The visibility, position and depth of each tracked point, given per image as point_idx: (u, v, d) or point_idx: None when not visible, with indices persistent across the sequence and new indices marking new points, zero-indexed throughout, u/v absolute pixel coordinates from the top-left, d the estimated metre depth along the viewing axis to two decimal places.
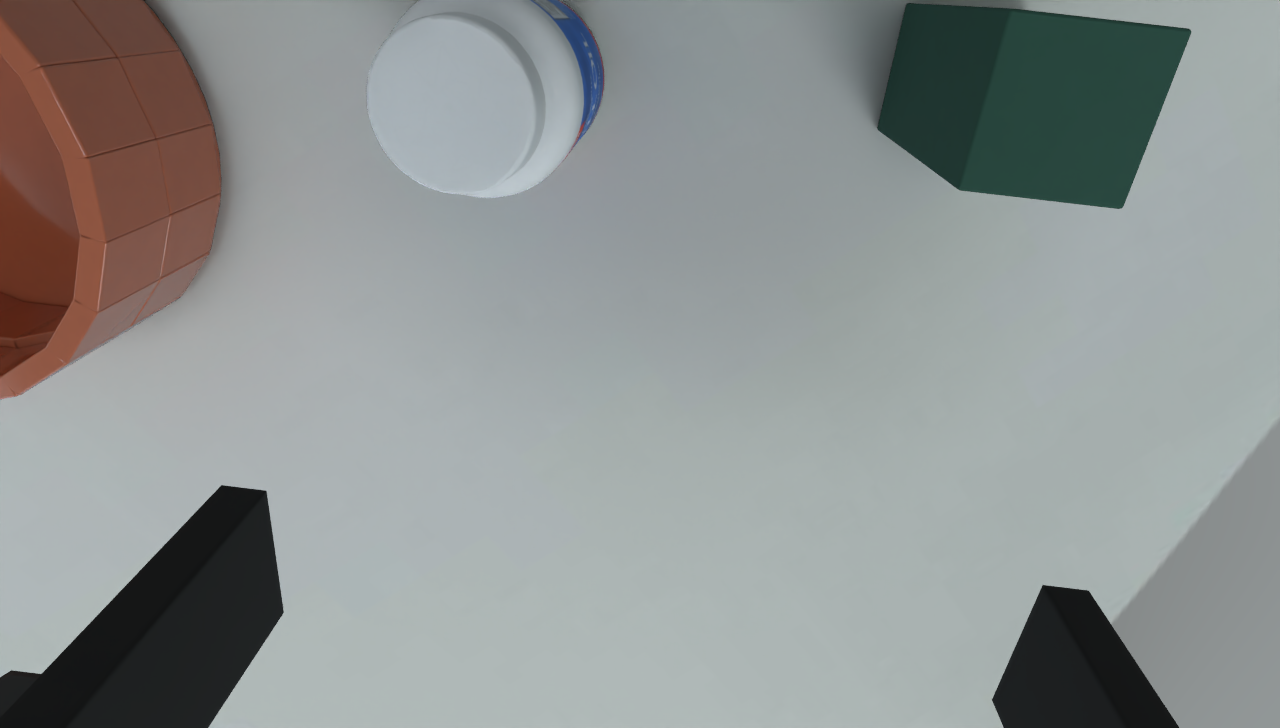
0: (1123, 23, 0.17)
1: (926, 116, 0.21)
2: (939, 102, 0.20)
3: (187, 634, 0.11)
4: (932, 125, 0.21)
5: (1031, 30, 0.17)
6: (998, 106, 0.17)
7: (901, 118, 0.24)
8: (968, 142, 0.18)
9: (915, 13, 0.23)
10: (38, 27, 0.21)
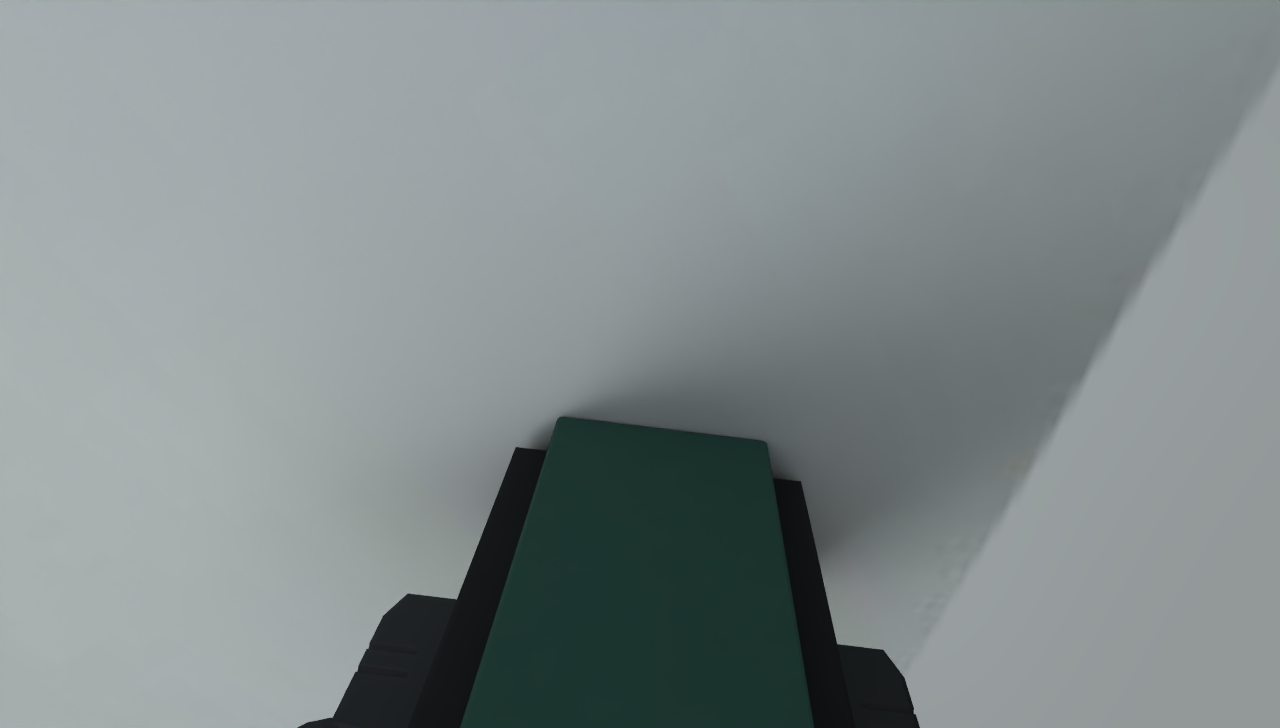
0: None
1: (585, 626, 0.10)
2: (615, 678, 0.09)
3: None
4: (567, 668, 0.09)
5: None
6: None
7: (578, 505, 0.12)
8: None
9: (757, 484, 0.13)
10: None
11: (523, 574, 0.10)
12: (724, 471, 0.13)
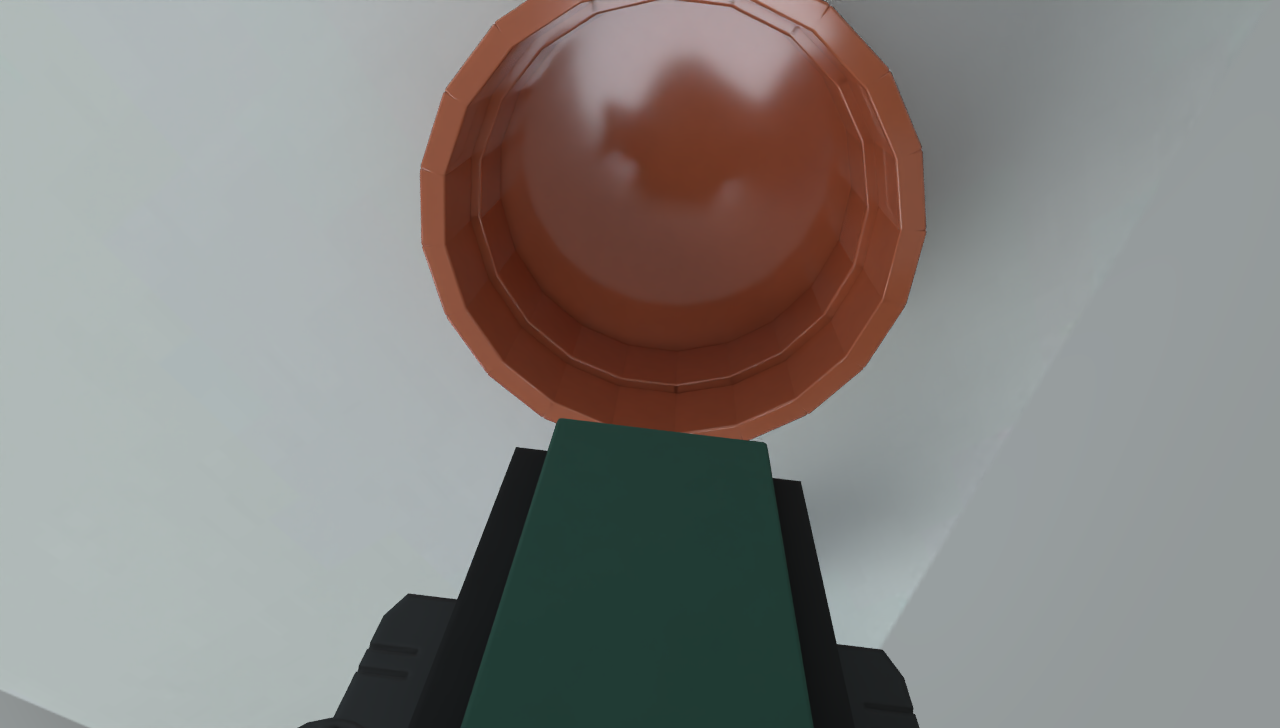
0: None
1: (585, 628, 0.10)
2: (615, 679, 0.09)
3: None
4: (567, 670, 0.09)
5: None
6: None
7: (579, 507, 0.12)
8: None
9: (757, 485, 0.13)
10: None
11: (523, 575, 0.10)
12: (724, 472, 0.13)
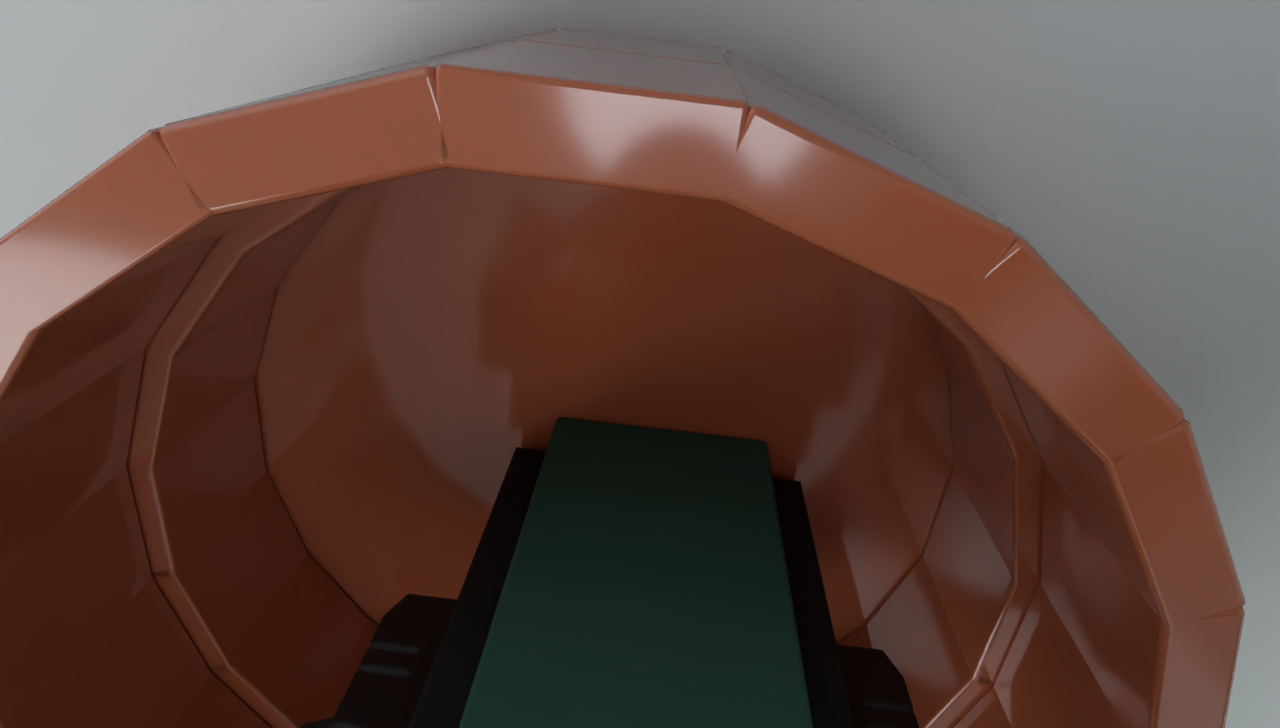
0: None
1: (583, 626, 0.10)
2: (614, 678, 0.09)
3: None
4: (565, 670, 0.09)
5: None
6: None
7: (577, 506, 0.12)
8: None
9: (757, 483, 0.13)
10: None
11: (522, 575, 0.10)
12: (723, 471, 0.13)
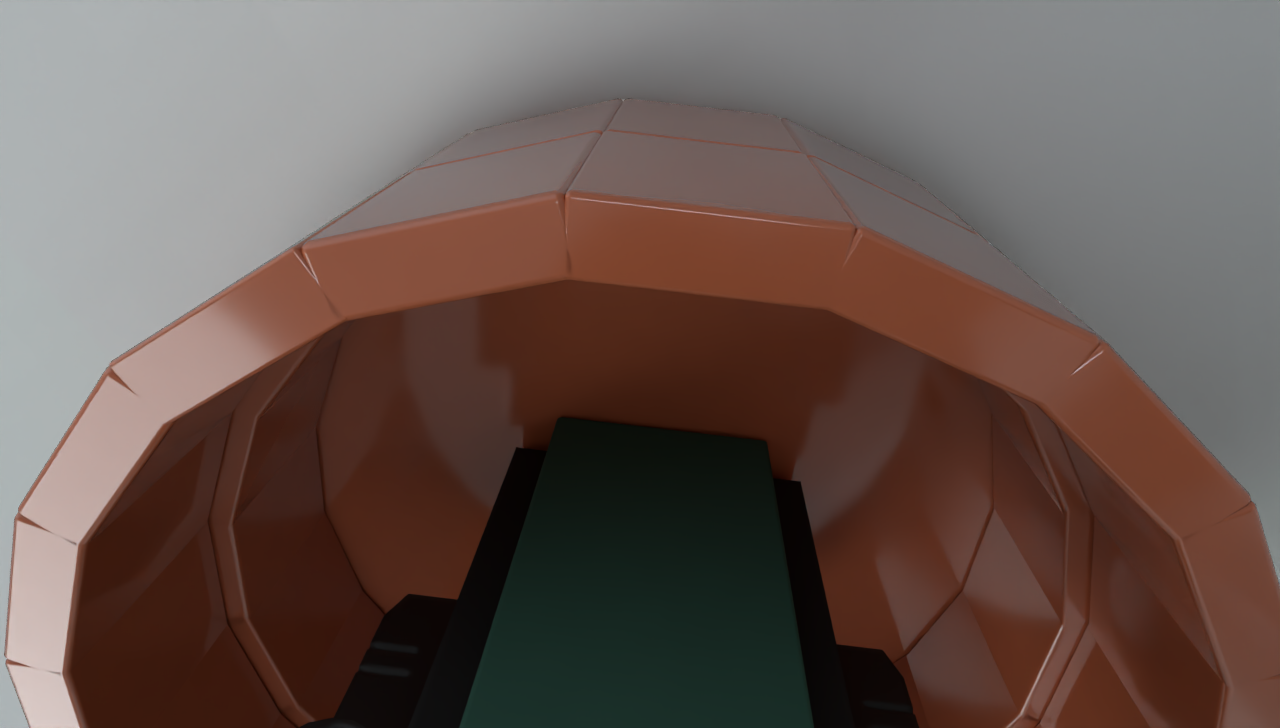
0: None
1: (585, 627, 0.10)
2: (614, 678, 0.09)
3: None
4: (565, 669, 0.09)
5: None
6: None
7: (578, 505, 0.12)
8: None
9: (758, 483, 0.13)
10: None
11: (522, 574, 0.10)
12: (724, 470, 0.13)
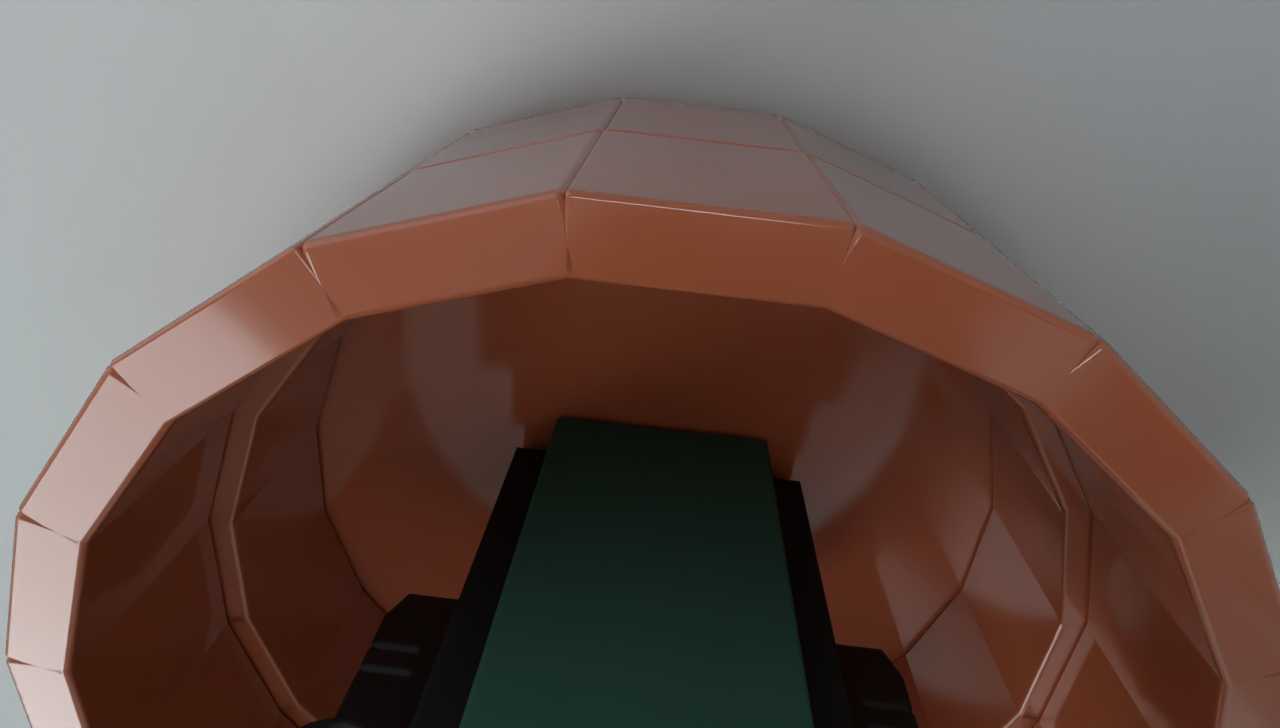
0: None
1: (584, 627, 0.10)
2: (614, 677, 0.09)
3: None
4: (566, 668, 0.09)
5: None
6: None
7: (578, 505, 0.12)
8: None
9: (758, 483, 0.13)
10: None
11: (522, 574, 0.10)
12: (724, 470, 0.13)
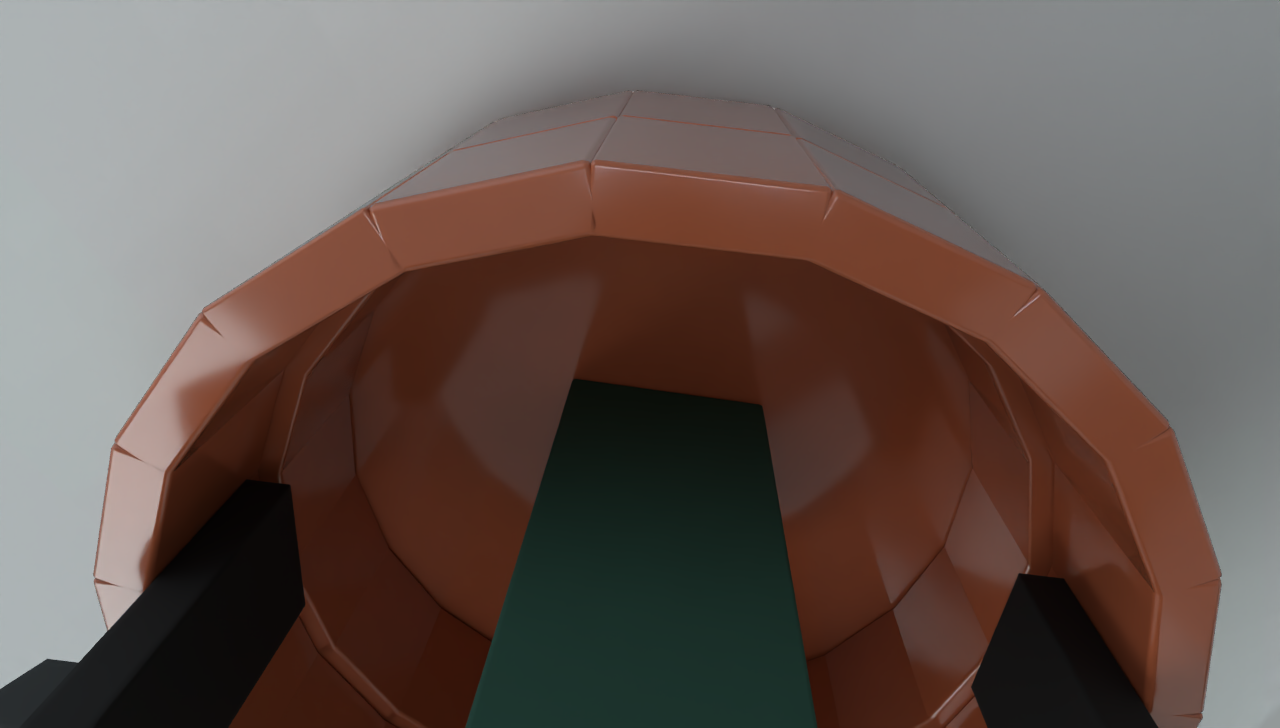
0: None
1: (602, 548, 0.11)
2: (629, 588, 0.10)
3: (217, 624, 0.11)
4: (588, 580, 0.10)
5: None
6: None
7: (593, 452, 0.13)
8: None
9: (754, 439, 0.14)
10: None
11: (547, 505, 0.12)
12: (724, 428, 0.15)
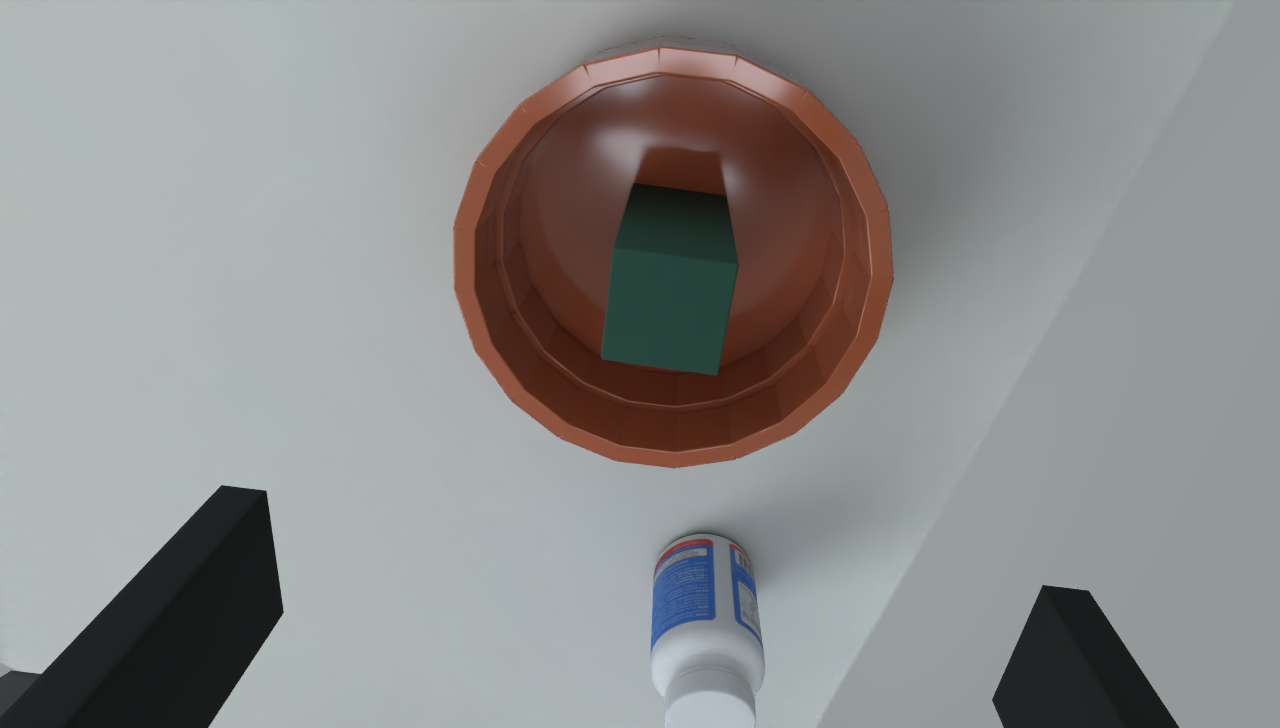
0: (724, 335, 0.25)
1: (655, 218, 0.27)
2: (667, 226, 0.27)
3: (187, 634, 0.11)
4: (651, 223, 0.27)
5: (724, 280, 0.24)
6: (673, 266, 0.24)
7: (647, 200, 0.29)
8: (648, 250, 0.24)
9: (721, 203, 0.31)
10: None
11: (630, 209, 0.28)
12: (707, 199, 0.31)
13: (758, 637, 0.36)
